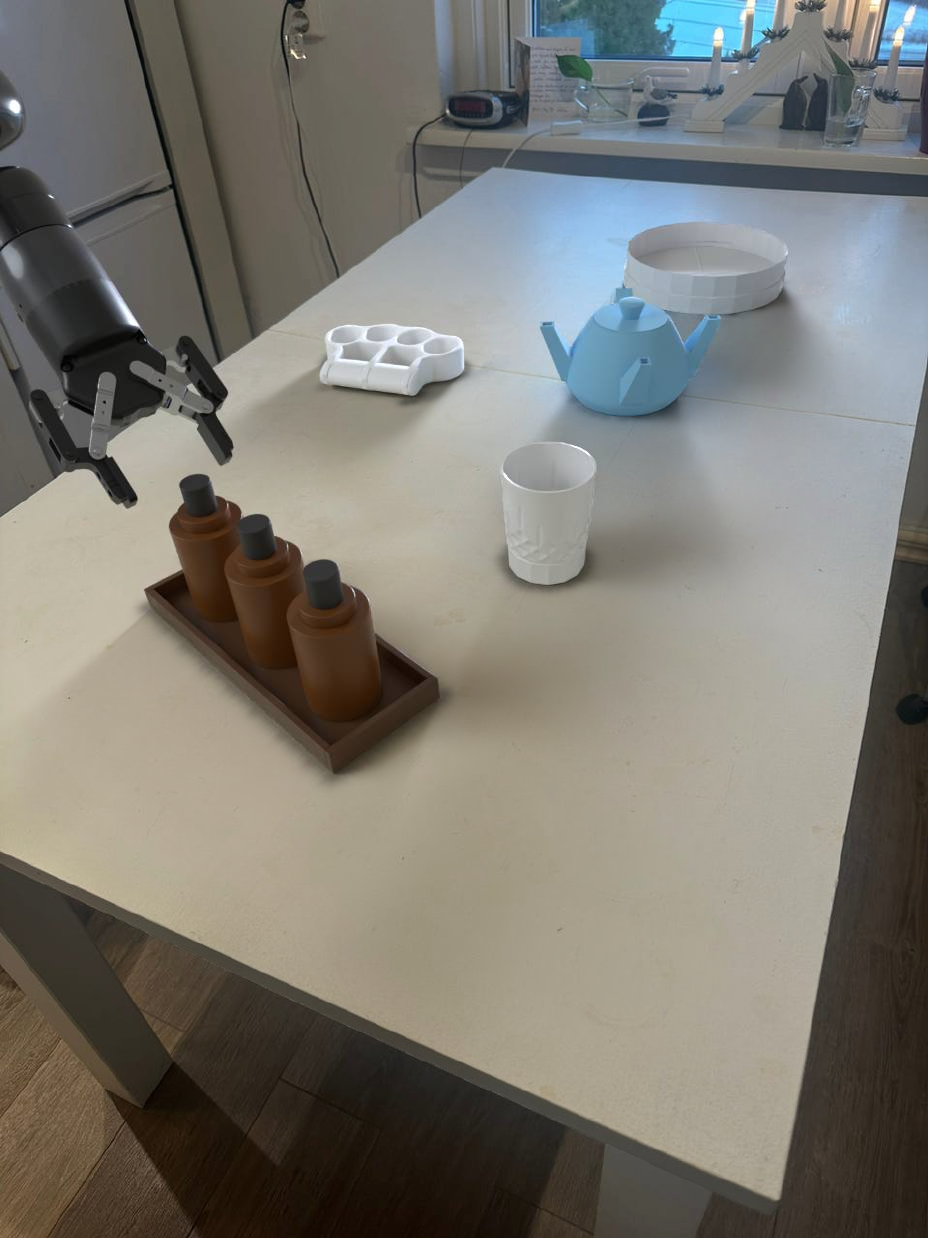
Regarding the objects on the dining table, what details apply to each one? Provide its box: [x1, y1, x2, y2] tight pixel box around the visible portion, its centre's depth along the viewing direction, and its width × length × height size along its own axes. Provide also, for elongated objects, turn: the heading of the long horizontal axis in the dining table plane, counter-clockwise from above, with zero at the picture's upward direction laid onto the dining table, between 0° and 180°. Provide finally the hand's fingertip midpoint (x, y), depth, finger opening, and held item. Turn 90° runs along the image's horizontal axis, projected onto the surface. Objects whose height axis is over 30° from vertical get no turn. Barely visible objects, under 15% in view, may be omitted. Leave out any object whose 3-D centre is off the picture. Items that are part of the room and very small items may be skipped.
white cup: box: [499, 441, 598, 586], centre depth 75 cm, size 8×8×10 cm
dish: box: [623, 221, 789, 316], centre depth 123 cm, size 22×22×5 cm
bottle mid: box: [224, 513, 306, 669], centre depth 67 cm, size 6×6×12 cm
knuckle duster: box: [319, 323, 465, 397], centre depth 107 cm, size 3×18×15 cm
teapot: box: [539, 287, 723, 417], centre depth 98 cm, size 15×15×11 cm
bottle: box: [168, 473, 245, 622], centre depth 71 cm, size 6×6×12 cm
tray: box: [143, 569, 440, 775], centre depth 70 cm, size 26×10×2 cm, turn 44°
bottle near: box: [287, 558, 383, 722], centre depth 62 cm, size 6×6×12 cm
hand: (181, 481), depth 70 cm, fingers open, 8 cm apart
